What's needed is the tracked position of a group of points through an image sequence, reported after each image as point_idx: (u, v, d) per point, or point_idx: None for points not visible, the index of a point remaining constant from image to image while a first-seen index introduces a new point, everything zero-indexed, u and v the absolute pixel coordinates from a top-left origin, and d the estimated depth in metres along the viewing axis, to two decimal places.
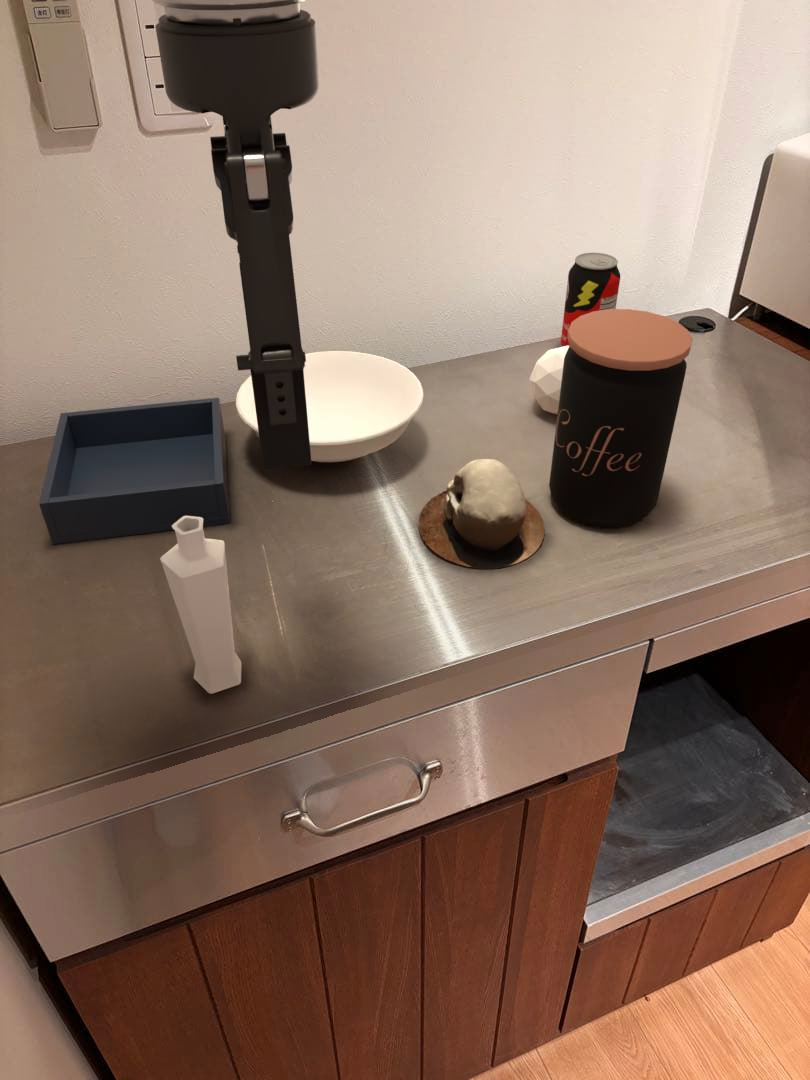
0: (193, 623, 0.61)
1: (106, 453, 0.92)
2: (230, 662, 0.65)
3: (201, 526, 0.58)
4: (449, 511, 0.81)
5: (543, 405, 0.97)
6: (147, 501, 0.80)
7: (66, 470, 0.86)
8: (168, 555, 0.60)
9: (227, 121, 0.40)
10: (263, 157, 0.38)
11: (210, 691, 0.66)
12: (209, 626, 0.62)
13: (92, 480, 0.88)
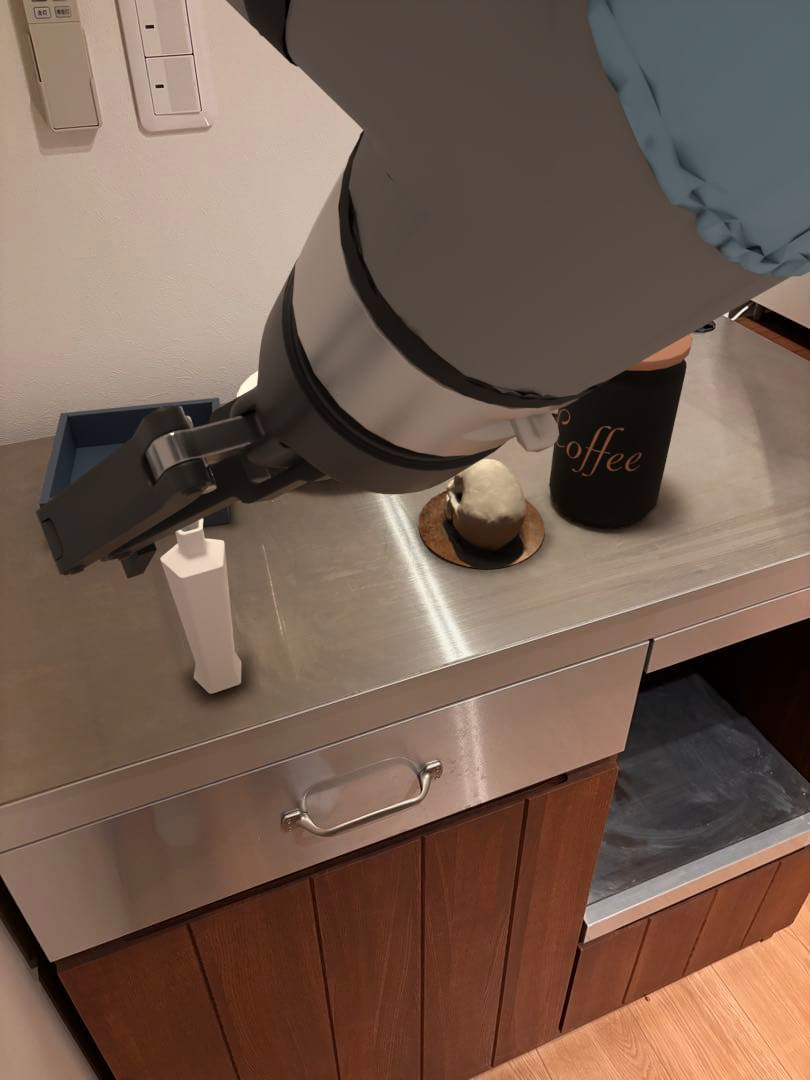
0: (193, 623, 0.61)
1: (106, 453, 0.92)
2: (230, 662, 0.65)
3: (201, 526, 0.58)
4: (449, 511, 0.81)
5: None
6: None
7: (66, 470, 0.86)
8: (168, 555, 0.60)
9: None
10: (172, 464, 0.24)
11: (210, 691, 0.66)
12: (209, 626, 0.62)
13: None
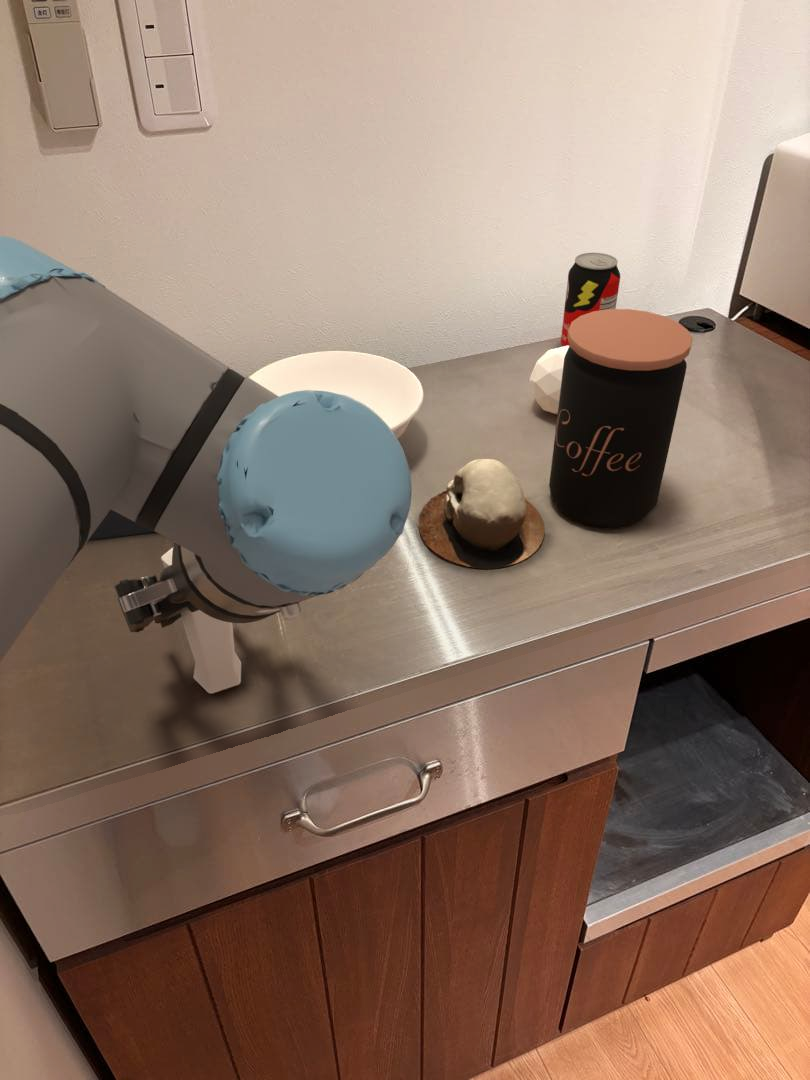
0: (193, 622, 0.61)
1: None
2: (230, 662, 0.65)
3: None
4: (449, 511, 0.81)
5: (543, 405, 0.97)
6: None
7: None
8: (169, 554, 0.60)
9: None
10: (125, 611, 0.49)
11: (210, 691, 0.66)
12: (209, 625, 0.62)
13: None
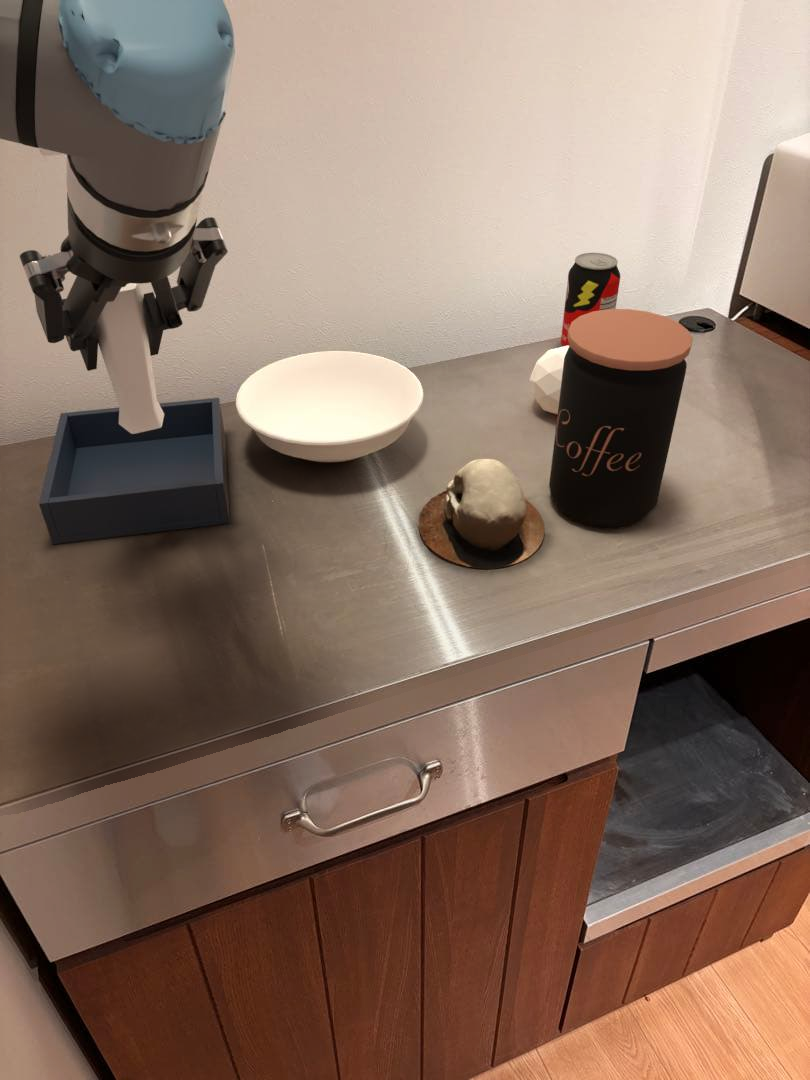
0: (111, 350, 0.67)
1: (106, 453, 0.92)
2: (150, 403, 0.71)
3: None
4: (449, 511, 0.81)
5: (543, 405, 0.97)
6: (147, 501, 0.80)
7: (66, 470, 0.86)
8: None
9: None
10: (29, 278, 0.55)
11: (132, 431, 0.71)
12: (126, 356, 0.68)
13: (92, 480, 0.88)
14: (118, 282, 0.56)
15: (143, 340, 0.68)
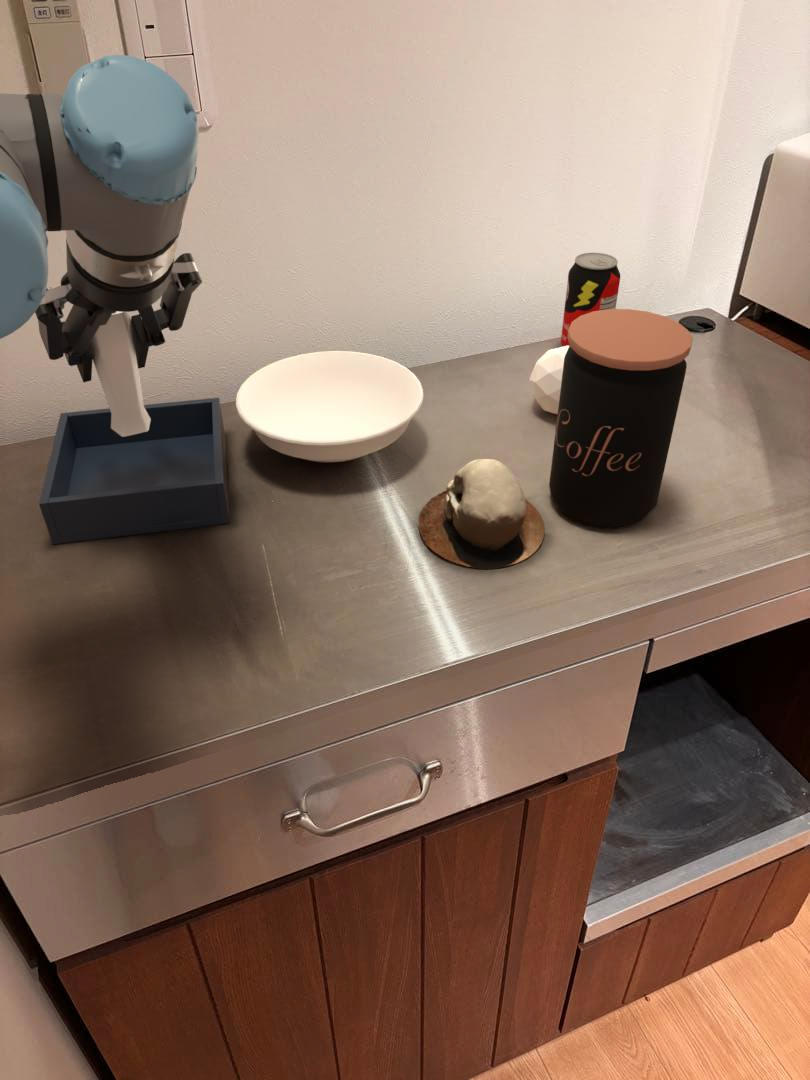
0: (103, 365, 0.77)
1: (106, 453, 0.92)
2: (138, 409, 0.82)
3: None
4: (449, 511, 0.81)
5: (543, 405, 0.97)
6: (147, 501, 0.80)
7: (66, 470, 0.86)
8: None
9: None
10: None
11: (122, 434, 0.82)
12: (117, 370, 0.78)
13: (92, 480, 0.88)
14: (109, 310, 0.67)
15: (131, 356, 0.78)
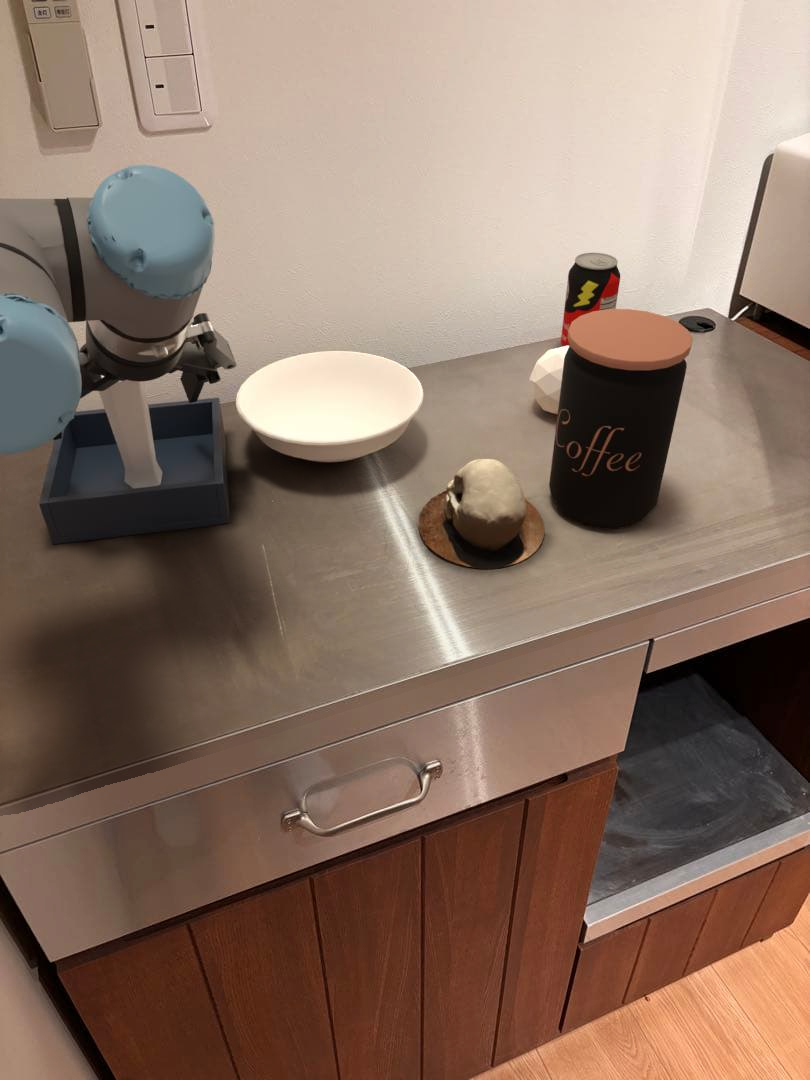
0: (119, 425, 0.81)
1: (106, 453, 0.92)
2: (151, 465, 0.85)
3: None
4: (449, 511, 0.81)
5: (543, 405, 0.97)
6: (147, 501, 0.80)
7: (66, 470, 0.86)
8: None
9: None
10: None
11: None
12: (131, 429, 0.82)
13: (92, 480, 0.88)
14: None
15: (145, 416, 0.82)
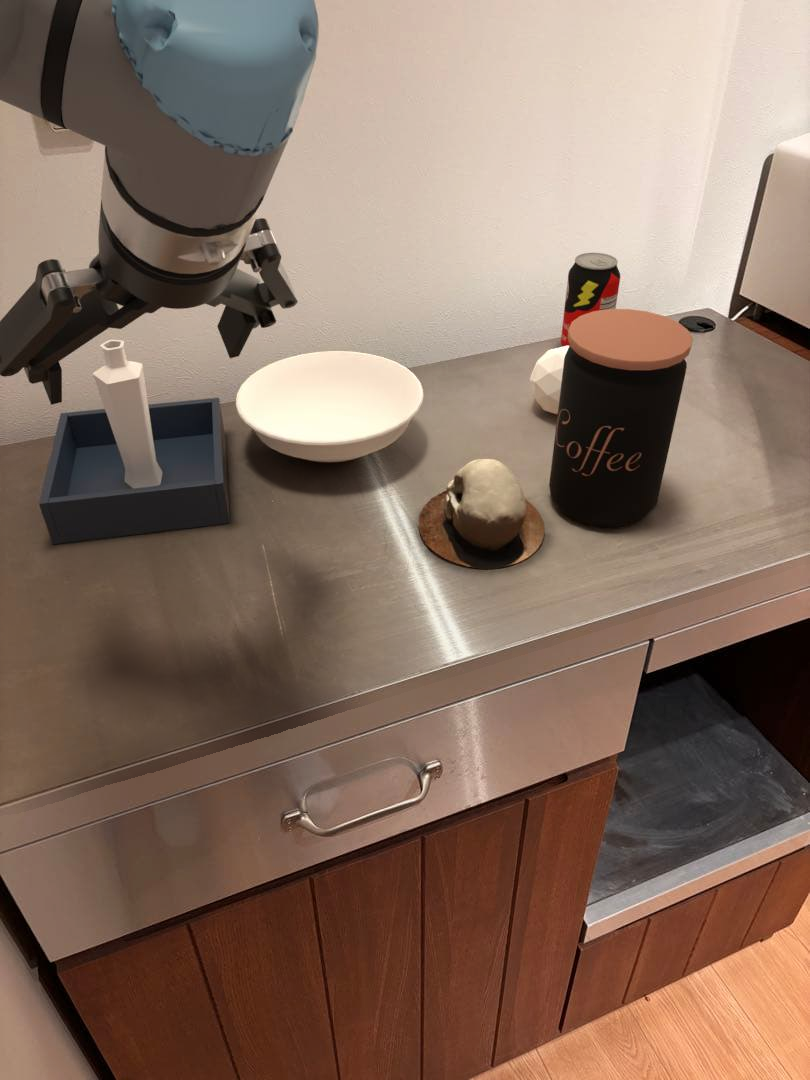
0: (119, 425, 0.81)
1: (106, 453, 0.92)
2: (151, 465, 0.85)
3: (122, 345, 0.78)
4: (449, 511, 0.81)
5: (543, 405, 0.97)
6: (147, 501, 0.80)
7: (66, 470, 0.86)
8: (98, 370, 0.80)
9: None
10: (52, 289, 0.46)
11: None
12: (132, 429, 0.82)
13: (92, 480, 0.88)
14: (153, 306, 0.50)
15: (145, 416, 0.82)
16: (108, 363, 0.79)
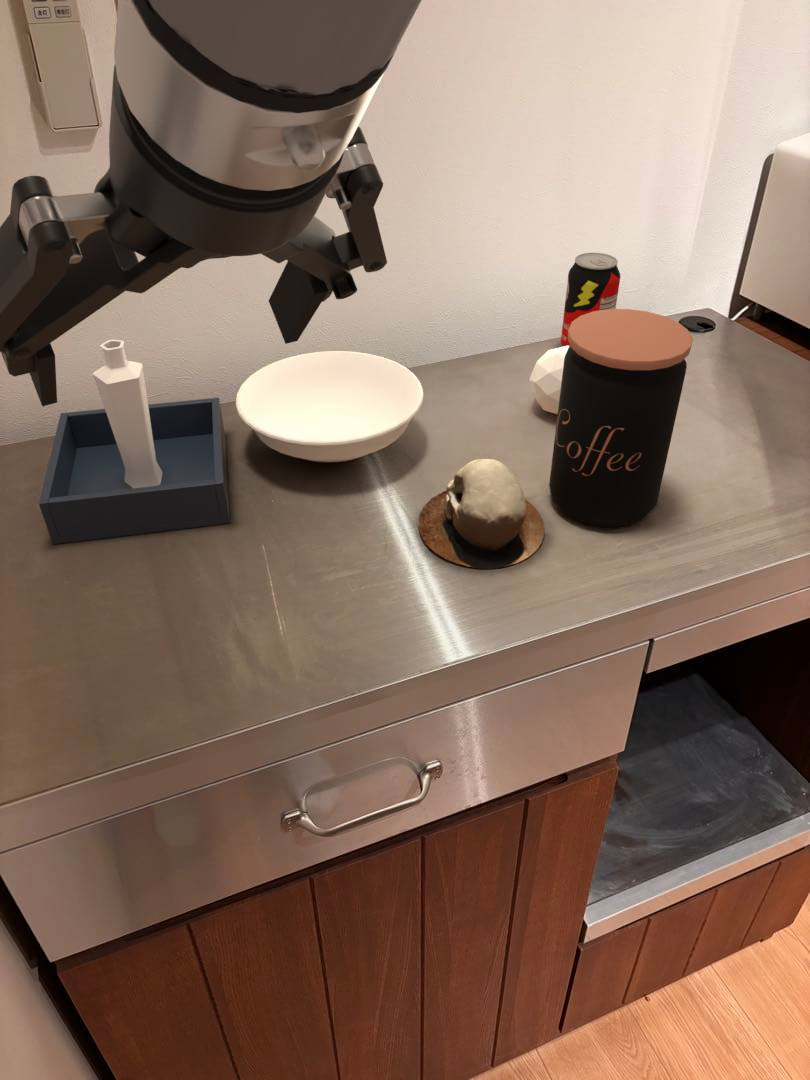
0: (119, 425, 0.81)
1: (106, 453, 0.92)
2: (151, 465, 0.85)
3: (122, 345, 0.78)
4: (449, 511, 0.81)
5: (543, 405, 0.97)
6: (147, 501, 0.80)
7: (66, 470, 0.86)
8: (98, 370, 0.80)
9: None
10: (35, 223, 0.29)
11: None
12: (131, 429, 0.82)
13: (92, 480, 0.88)
14: (193, 256, 0.32)
15: (145, 416, 0.82)
16: (108, 363, 0.79)
